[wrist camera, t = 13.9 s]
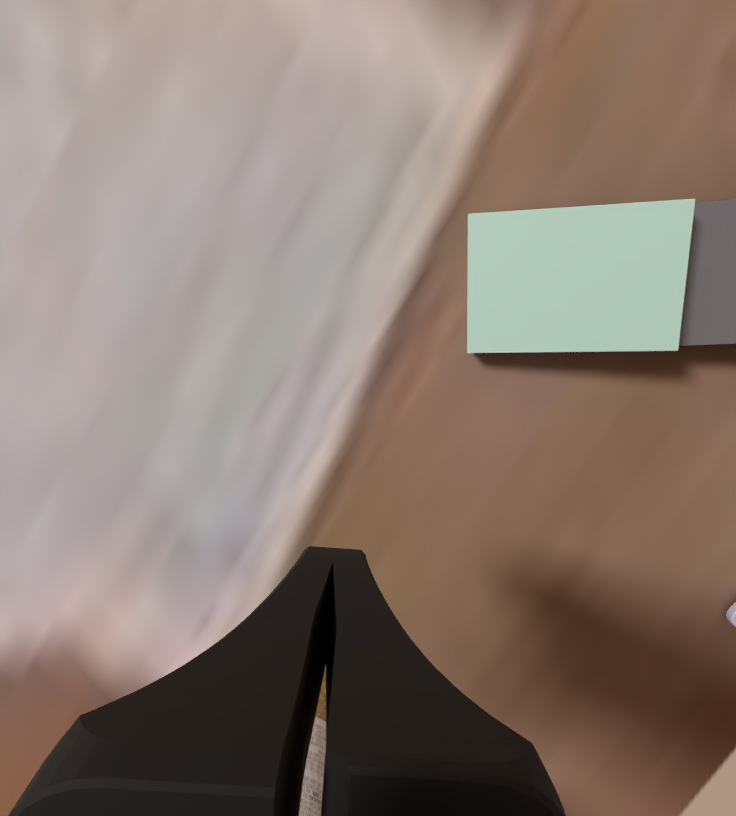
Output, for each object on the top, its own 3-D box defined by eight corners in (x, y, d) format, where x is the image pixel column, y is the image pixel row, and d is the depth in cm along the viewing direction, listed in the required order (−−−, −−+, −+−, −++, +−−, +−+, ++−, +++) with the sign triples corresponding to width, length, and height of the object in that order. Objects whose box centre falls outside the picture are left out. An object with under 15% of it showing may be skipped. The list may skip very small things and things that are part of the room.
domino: (616, 212, 19) (841, 191, 17) (610, 343, 20) (820, 334, 18) (625, 209, 18) (867, 186, 16) (618, 348, 19) (843, 339, 17)
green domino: (467, 353, 19) (678, 350, 17) (467, 213, 18) (695, 198, 16) (467, 348, 20) (666, 345, 19) (468, 216, 19) (681, 202, 17)
